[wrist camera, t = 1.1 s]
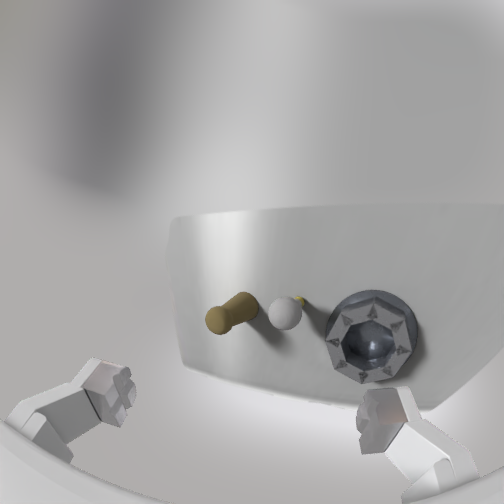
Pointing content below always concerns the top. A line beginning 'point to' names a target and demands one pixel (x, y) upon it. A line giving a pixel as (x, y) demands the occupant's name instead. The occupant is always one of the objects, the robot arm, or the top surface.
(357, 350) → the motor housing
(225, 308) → the cork
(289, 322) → the light bulb
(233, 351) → the top surface
